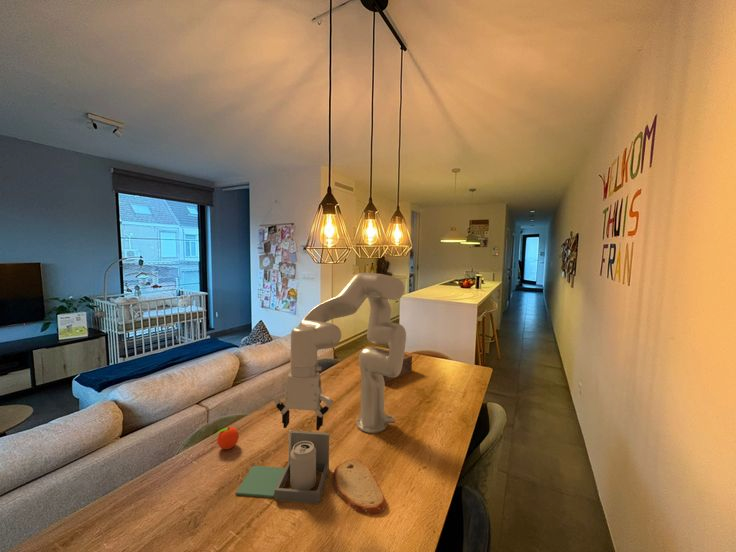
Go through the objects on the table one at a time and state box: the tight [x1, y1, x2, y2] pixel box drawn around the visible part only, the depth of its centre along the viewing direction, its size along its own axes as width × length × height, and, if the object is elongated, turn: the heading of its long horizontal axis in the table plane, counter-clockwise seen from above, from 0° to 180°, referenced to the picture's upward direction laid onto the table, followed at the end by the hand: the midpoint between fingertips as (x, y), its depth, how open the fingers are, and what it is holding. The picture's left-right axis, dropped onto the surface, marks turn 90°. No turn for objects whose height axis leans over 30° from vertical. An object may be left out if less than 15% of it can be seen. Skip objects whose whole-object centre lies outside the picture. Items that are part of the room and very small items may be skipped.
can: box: [289, 441, 317, 491], centre depth 90 cm, size 8×8×12 cm
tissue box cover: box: [383, 352, 413, 384], centre depth 174 cm, size 26×14×10 cm, turn 133°
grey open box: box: [274, 429, 330, 505], centre depth 90 cm, size 13×14×13 cm
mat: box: [235, 465, 286, 499], centre depth 91 cm, size 11×11×1 cm
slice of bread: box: [332, 458, 387, 516], centre depth 90 cm, size 18×18×4 cm
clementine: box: [213, 426, 240, 450], centre depth 106 cm, size 8×7×7 cm
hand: (302, 426), depth 88 cm, fingers open, 9 cm apart
